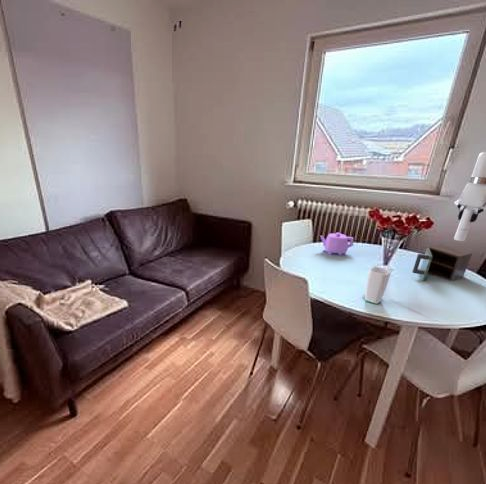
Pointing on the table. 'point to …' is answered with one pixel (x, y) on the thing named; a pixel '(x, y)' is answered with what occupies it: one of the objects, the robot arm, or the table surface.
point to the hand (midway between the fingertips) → (466, 220)
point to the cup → (376, 284)
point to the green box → (423, 264)
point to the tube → (464, 224)
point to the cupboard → (448, 262)
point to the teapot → (337, 243)
